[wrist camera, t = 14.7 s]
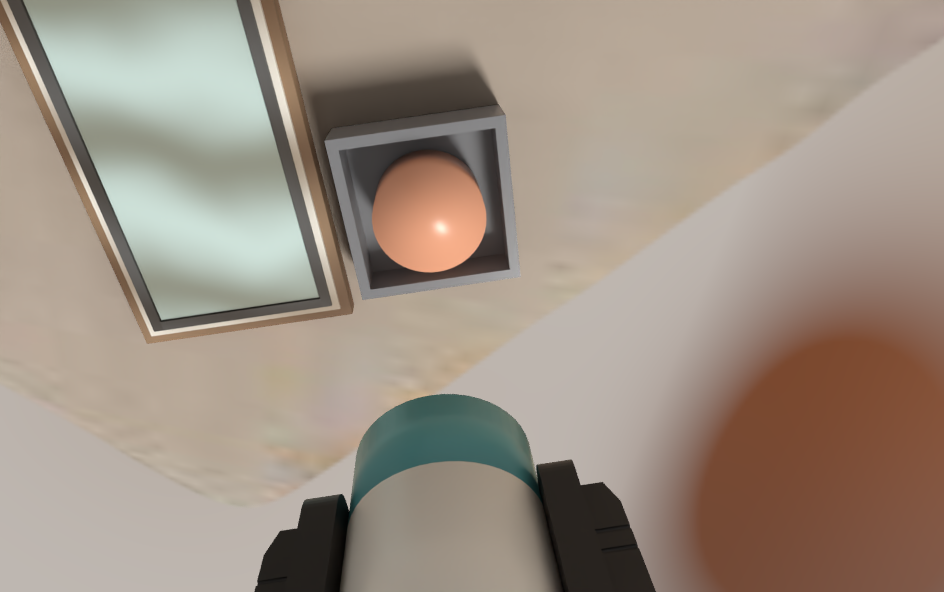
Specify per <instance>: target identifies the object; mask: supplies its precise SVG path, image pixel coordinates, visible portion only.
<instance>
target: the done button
mask: <svg viewBox="0 0 944 592" xmlns="http://www.w3.org/2000/svg"><path fill="white" fill-rule="evenodd" d="M372 225H373V231H374V234H375V237H376V239H377V241H378V243H379V245H380V247H381V248H382V249H383V251H384V252H385V253H386V254H387V255H388V256H389V257H390V258H391V259H392V260H394V261H395V262H396V263H398V264H400V265H402V266H403V267H406V268H408V269H411V270H415V271H420V272H439V271H444V270H448V269H451V268H453V267H455V266H457V265H459V264H461V263H462V262H464V261H465V260H466V259H468V258H469V257H470V256H471V255H472V254H473V253H474V252H475V250H476V249H477V247H478V246H479V244H480V242H481V241H482V238H483V236H484V233H485V228H486V209H485V205H484V201H483V198H482V194H481V191H480V188H479V185H478V182H477V180H476V178H475V176H474V174H473V173H472V171H471V170H470V169H469V168H468V166H467V165H466V164H464V163H463V162H462V161H461V160H459V159H458V158H456V157H455V156H453V155H451V154H449V153H446V152H442V151H438V150H418V151H413V152H411V153H408V154H405V155H403V156H401V157H400V158H398V159H397V160H395V161H394V162H393V163H392V164H391V165H390V166H389V167H388V168H387V169H386V170H385V172H384V173H383V175H382V177H381V179H380V181H379V183H378V187H377V190H376V195H375V200H374V205H373V211H372Z"/></svg>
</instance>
